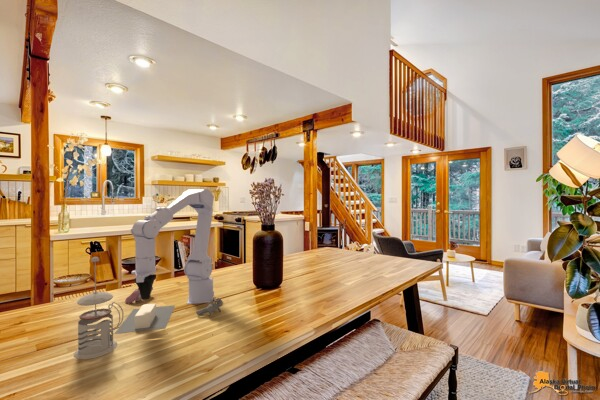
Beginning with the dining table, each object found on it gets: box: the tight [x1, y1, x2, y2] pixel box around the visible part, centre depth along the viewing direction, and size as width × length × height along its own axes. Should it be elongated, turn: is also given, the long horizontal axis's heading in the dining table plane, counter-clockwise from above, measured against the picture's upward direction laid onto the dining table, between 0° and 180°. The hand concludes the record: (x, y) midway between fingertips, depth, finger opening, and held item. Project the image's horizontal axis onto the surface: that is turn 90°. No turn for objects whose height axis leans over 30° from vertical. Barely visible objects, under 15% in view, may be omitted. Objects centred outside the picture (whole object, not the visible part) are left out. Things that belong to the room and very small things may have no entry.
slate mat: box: [113, 304, 176, 335], centre depth 99 cm, size 14×20×1 cm
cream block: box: [135, 303, 157, 329], centre depth 96 cm, size 4×4×10 cm
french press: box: [73, 256, 124, 360], centre depth 79 cm, size 10×12×25 cm
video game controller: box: [124, 286, 154, 304], centre depth 117 cm, size 10×5×7 cm, turn 169°
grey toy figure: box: [195, 297, 224, 318], centre depth 101 cm, size 10×6×9 cm
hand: (145, 298), depth 96 cm, fingers closed
